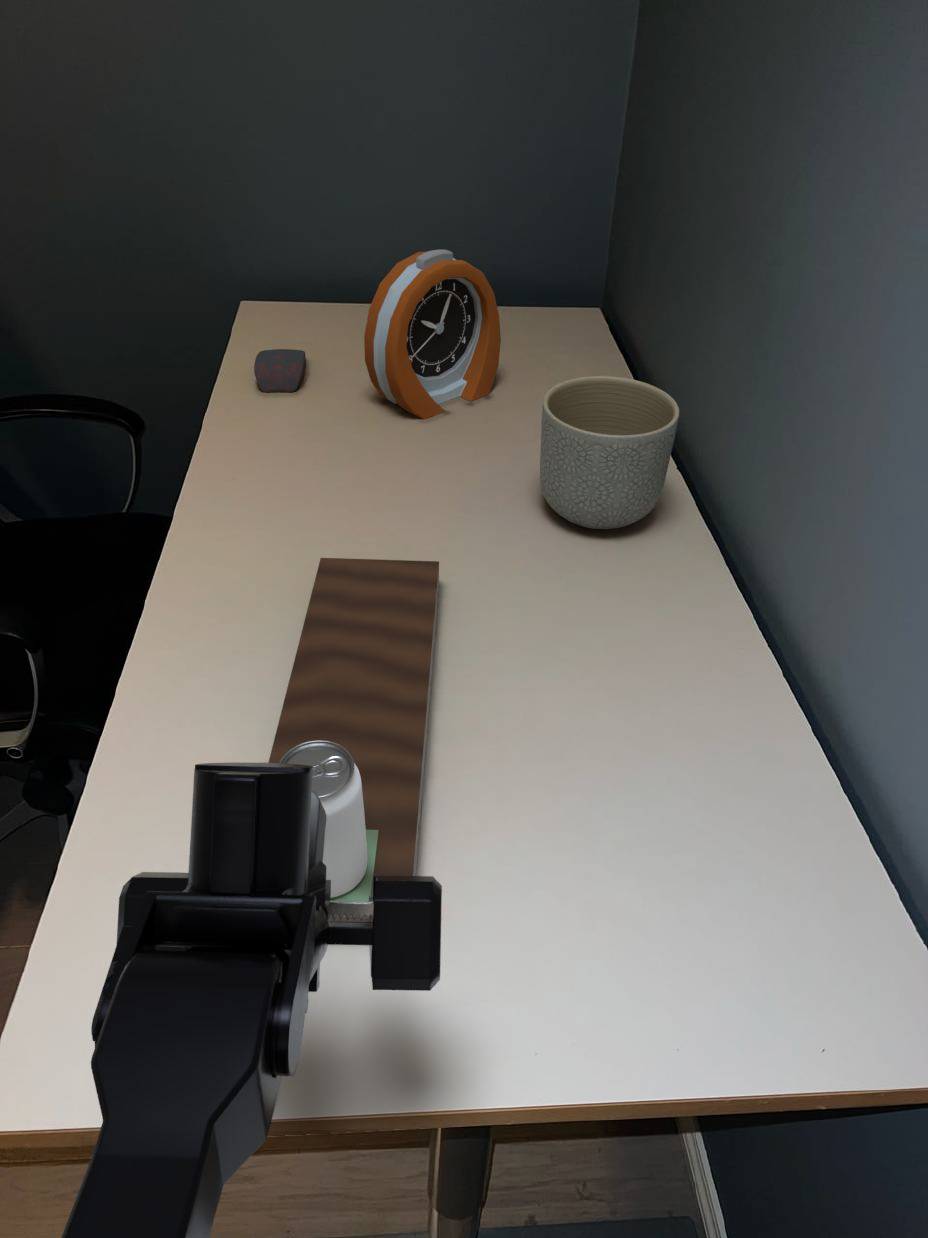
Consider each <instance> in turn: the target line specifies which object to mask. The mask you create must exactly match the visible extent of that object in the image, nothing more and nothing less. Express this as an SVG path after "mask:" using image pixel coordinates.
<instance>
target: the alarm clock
mask: <svg viewBox="0 0 928 1238" xmlns="http://www.w3.org/2000/svg"><path fill="white" fill-rule="evenodd" d="M381 280H382V281H380V282H379V285H378V287H377V290H376V292H375V295H374V296H373V299H372V302H371V304H370V306H369V308H368V312H367V313H368V314H367V319H366V325H365V329H364V335H363V341H364V342H363V343H364V362H365V366H366V370H367V373H368V376H369V379H370V382H371V383H372V385H373V387H374V388H375V390H376V391H377V393H378V394H379V396H381V397H382V398H384V399H385V400H387V401H389V402H391V403H392V404H394V405H396V404H397V405H398V406H399V407H400V408H402V409H403V410H405V411H406V412H408V413H410V414H412V415H414V416H415V417H417V418H419V419H423V420H424V419H425V420H426V419H429V418H432V417H435V416H437V415H440V414H442V413H445V412H446V410H445V409H444V408H443V407H442V406H441V405H440V404H443V403H445V402H448V401H451V400H454V399H457V398H459V397H461V399H464V400H466V401H468V402H473V401H475V400H479V399H481V398H483V397H487V396H489V395H490V392H491V390H492V388H493V386H494V383H495V378H496V374H497V371H498V368H499V362H500V351H501V343H502V342H501V341H502V338H501V322H500V321H501V320H500V313H499V310H498V305H497V301H496V295H495V292H494V290H493V288H492V286H491V284H490V283H489V281H488V279H487V277H486V275H485V273H484V271H483V272H482V271H481V270H480V269H478V268H476V267H475V266H473V265H472V264H471V263H469V262H468V261H465V260H462V259H456V258H455V257H454V253H453V252H452V251H450V250H448V249H432V250H428V251H417V252H416V253H414V254H412V255H410V256H408V257H406V258H403V260H400V261H398V262H396V264H395V265H394V266H393V267H392V268H391V270H390V271H389V272H388V273H387V275H385V277H384V278H383V279H381Z"/></svg>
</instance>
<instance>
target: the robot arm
mask: <svg viewBox="0 0 928 1238" xmlns="http://www.w3.org/2000/svg"><path fill="white" fill-rule="evenodd" d="M312 775H313V766H309V765H299V764H284V763H268V762H240V761H239V762H236V761H235V762H234V761H233V762H204V763H203V762H202V763H196V764H194V769H193V784H192V785H193V789H192V802H191V803H192V805H191V821H190V840H189V855H188V857H189V858H188V872H179V871H177V872H172V871H170V872H169V871H168V872H167V871H141V872H139V873H137V874H135V875H133V876H131V877H130V878H129V880H127V881H126V883H124V884H123V886H122V888H121V891H120V894H119V897H118V910H117V930H116V946H115V948H114V951H113V955H112V959H111V961H110V965H109V967H108V971H107V974H106V976H105V980H104V983H103V986H102V989H101V992H100V995H99V998H98V1001H97V1005H96V1008H95V1010H94V1014H93V1017H92V1021H91V1027H90V1029H91V1039H92V1042H94V1050H93V1052H92V1056H91V1059H90V1069H91V1072H92V1073H91V1074H92V1077H93V1078H92V1079H93V1083H94V1086H95V1090H96V1095H97V1096H96V1097H97V1099H98V1104H99V1109H100V1112H101V1113H100V1114H101V1117H102V1123H101V1125H100V1130H99V1132H98V1136H97V1138H96V1142H95V1145H94V1148H93V1151H92V1155H91V1158H90V1160H89V1163H88V1166H87V1169H86V1170H85V1171H86V1172H85V1173H84V1177H83V1179H82V1182H81V1184H80V1187H79V1190H78V1192H77V1194H76V1197H75V1200H74V1203H73V1205H72V1208H71V1211H70V1214H69V1216H68V1219H67V1222H66V1224H65V1226H64V1230H63V1232H62V1235H61V1237H60V1238H211V1233H212V1229H213V1226H214V1220H215V1217H216V1213H217V1209H218V1206H219V1202H220V1199H221V1196H222V1192H223V1189H224V1186H225V1184H226V1183H227V1182H228V1181H229V1180H230V1179H231V1177H232V1176H234V1174H235V1173H237V1171H238V1170H239V1169H240V1168H241V1167H242V1166H243V1165H244V1164H245V1162H247V1161H248V1160H249V1158H250V1157H251V1156H252V1155H253V1154H254V1153H255V1152H256V1151H257V1150H258V1149H259V1148H260V1147H261V1146H262V1145H263V1144H264V1142H265V1141H266V1139H267V1137H268V1136H269V1132H270V1127H271V1124H272V1119H273V1115H274V1112H275V1108H276V1104H277V1100H278V1096H279V1092H280V1088H281V1084H282V1081H283V1077H293V1076H294V1075H295V1073H296V1070H297V1068H298V1065H299V1059H300V1056H301V1049H302V1043H303V1042H302V1041H303V1034H304V1026H305V1018H306V1014H307V1012H308V1010H309V993H317V992H318V990H319V988H320V971H321V970H320V969H321V963H322V960H323V958H324V957H325V955H326V952H327V950H328V946H331V945H332V946H368V949H369V951H368V952H369V966H370V978H371V986H372V991H417V992H419V991H420V992H422V991H423V992H424V991H426V992H429V991H431V990H432V989H433V988H434V987H435V986H436V985H437V984H438V983H439V982H440V981H441V961H442V960H441V958H442V912H443V911H442V910H443V909H442V904H443V903H442V900H443V897H442V896H443V885H442V884H441V882H439V881H438V880H437V879H436V877H434V876H433V875H427V876H426V875H416V876H374V877H373V888H372V895H369V902H353V901H330V898H331V880H326V865H325V864H324V863H323V850H324V838H325V827H326V812H325V810H324V808H323V806H322V804H321V801H320V799H319V797H318V796H317V794H316V793H315V792H314V791H312ZM330 915H332V917H333V920H335V919H336V917H337V915H339V918H340V920H342V918H343V916H344V915H345V916H346V920H349V918H350V915H352V917H353V920H355V919H356V917H357V915H359V918H360V920H362V919H363V916H364V915H365V916H366V920H368V922H353V921H328V919H329V917H330Z"/></svg>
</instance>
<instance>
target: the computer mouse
mask: <svg viewBox="0 0 928 1238" xmlns="http://www.w3.org/2000/svg"><path fill="white" fill-rule="evenodd" d="M305 367H306V352H305V350H302V349H290V348H274V349H263V350H260V351H259V352H258V353H257V354H256V357H255V359H254V365H253V372H254V377H255V380H256V382H257V384H258V387H259V388H260V390H261V392H263V393H294V392H296V391H297V390H298V389H299V387H300V386H301V384H302V382H303V378H304V373H305V369H306V368H305Z"/></svg>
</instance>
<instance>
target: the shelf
mask: <svg viewBox="0 0 928 1238" xmlns="http://www.w3.org/2000/svg"><path fill="white" fill-rule="evenodd" d="M439 592H440V561H437V560H435V561H434V560H408V559H378V558H377V559H375V558H374V559H373V558H372V559H371V558H346V557H345V558H343V557H342V558H340V557H336V558H335V557H320V558H319V563H318V567H317V570H316V575H315V577H314V582H313V587H312V590H311V593H310V598H309V602H308V606H307V610H306V614H305V617H304V618H305V619H304V621H303V625H302V629H301V633H300V637H299V641H298V645H297V649H296V652H295V656H294V659H293V660H294V661H293V664H292V669H291V673H290V677H289V680H288V685H287V687H286V691H285V696H284V700H283V704H282V706H281V712H280V716H279V719H278V723H277V727H276V731H275V735H274V739H273V744H272V746H271V750H270V755H269V759H268V762H267V763H279V762H280V760H281V759H282V757H283V756H284V755H285V754H286V753H287V752H288V751H289V750H290V749H292V748H293V747H295V746H297V745H299V744H302V743H305V742H309V741H315V740H324V741H331V742H334V743H337V744H339V745H341V746H343V747H344V748H345V749H346V750H348V752H349V753H350V754H351V756H352V758H353V761H354V763H355V765H356V766H357V768H358V770H359V773H360V776H361V783H362V793H363V804H364V816H365V828H366V841H367V854H368V864H367V869H366V872H365V875H364V877H363V878H362V880H361V881H360V882H359V883H358V885H357V886H355V887H354V888H353V889H352V890H350V891H349V892H347V893H345V894H343V895H340V896H337V897H333V898H330V901H353V902H369V895H372V888H373V877H374V876H417V867H418V866H417V865H418V853H419V851H418V850H419V839H420V825H421V815H422V802H423V790H424V777H425V764H426V752H427V741H428V729H429V727H428V726H429V715H430V703H431V689H432V680H433V679H432V678H433V668H434V667H433V665H434V653H435V642H436V629H437V628H436V627H437V616H438V615H437V614H438V602H439ZM328 921H353V922H368V920H366V916H365V915H364V916H363V919H362V920H360V918H359V915H357V917H356V919H355V920H353V917H352V915H350V918H349V920H346V916H345V915H344V916H343V918H342V920H340V918H339V915H337V917H336V919H335V920H333V917H332V915H330V917H329V919H328Z"/></svg>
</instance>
